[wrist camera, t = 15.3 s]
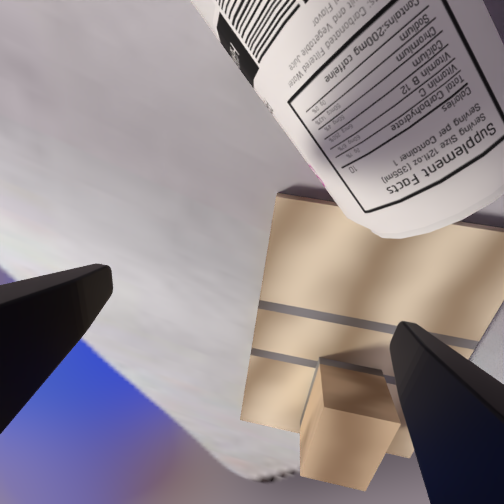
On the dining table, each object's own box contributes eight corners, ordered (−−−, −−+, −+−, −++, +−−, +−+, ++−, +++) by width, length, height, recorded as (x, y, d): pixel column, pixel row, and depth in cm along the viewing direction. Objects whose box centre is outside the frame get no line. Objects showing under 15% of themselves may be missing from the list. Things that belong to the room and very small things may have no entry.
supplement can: (398, -390, 7) (603, 109, 10) (282, -63, 15) (420, 162, 18) (151, -267, 6) (471, 253, 9) (166, 18, 14) (335, 243, 17)
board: (525, 231, 18) (540, 238, 17) (405, 444, 27) (409, 458, 26) (277, 192, 19) (276, 196, 18) (242, 408, 28) (240, 419, 27)
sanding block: (381, 369, 22) (400, 423, 18) (354, 433, 25) (365, 491, 21) (319, 357, 23) (324, 407, 19) (299, 421, 26) (300, 475, 22)
